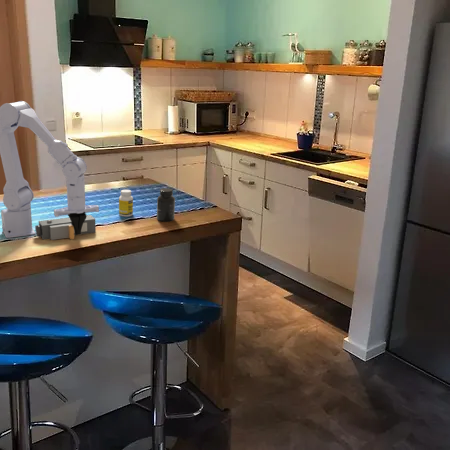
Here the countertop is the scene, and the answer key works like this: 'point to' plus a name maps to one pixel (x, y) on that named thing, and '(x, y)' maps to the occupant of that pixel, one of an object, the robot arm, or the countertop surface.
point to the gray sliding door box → (44, 226)
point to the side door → (62, 231)
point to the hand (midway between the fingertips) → (77, 233)
